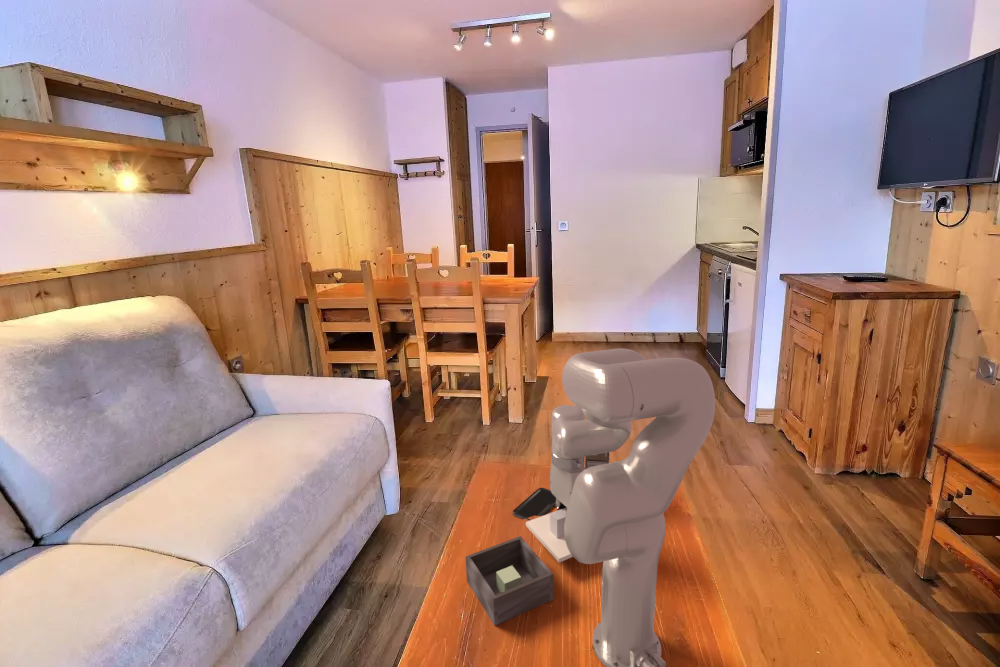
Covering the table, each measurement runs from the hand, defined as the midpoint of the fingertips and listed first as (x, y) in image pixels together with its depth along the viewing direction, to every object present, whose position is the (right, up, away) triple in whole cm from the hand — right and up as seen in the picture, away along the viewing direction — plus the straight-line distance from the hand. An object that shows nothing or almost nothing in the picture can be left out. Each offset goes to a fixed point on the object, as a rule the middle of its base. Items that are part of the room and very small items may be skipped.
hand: (567, 525), depth 119 cm
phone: (-6, -2, +19) cm, 20 cm away
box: (-14, -10, -11) cm, 21 cm away
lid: (0, -2, +1) cm, 2 cm away
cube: (-14, -10, -11) cm, 21 cm away
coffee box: (+11, -1, +20) cm, 22 cm away
